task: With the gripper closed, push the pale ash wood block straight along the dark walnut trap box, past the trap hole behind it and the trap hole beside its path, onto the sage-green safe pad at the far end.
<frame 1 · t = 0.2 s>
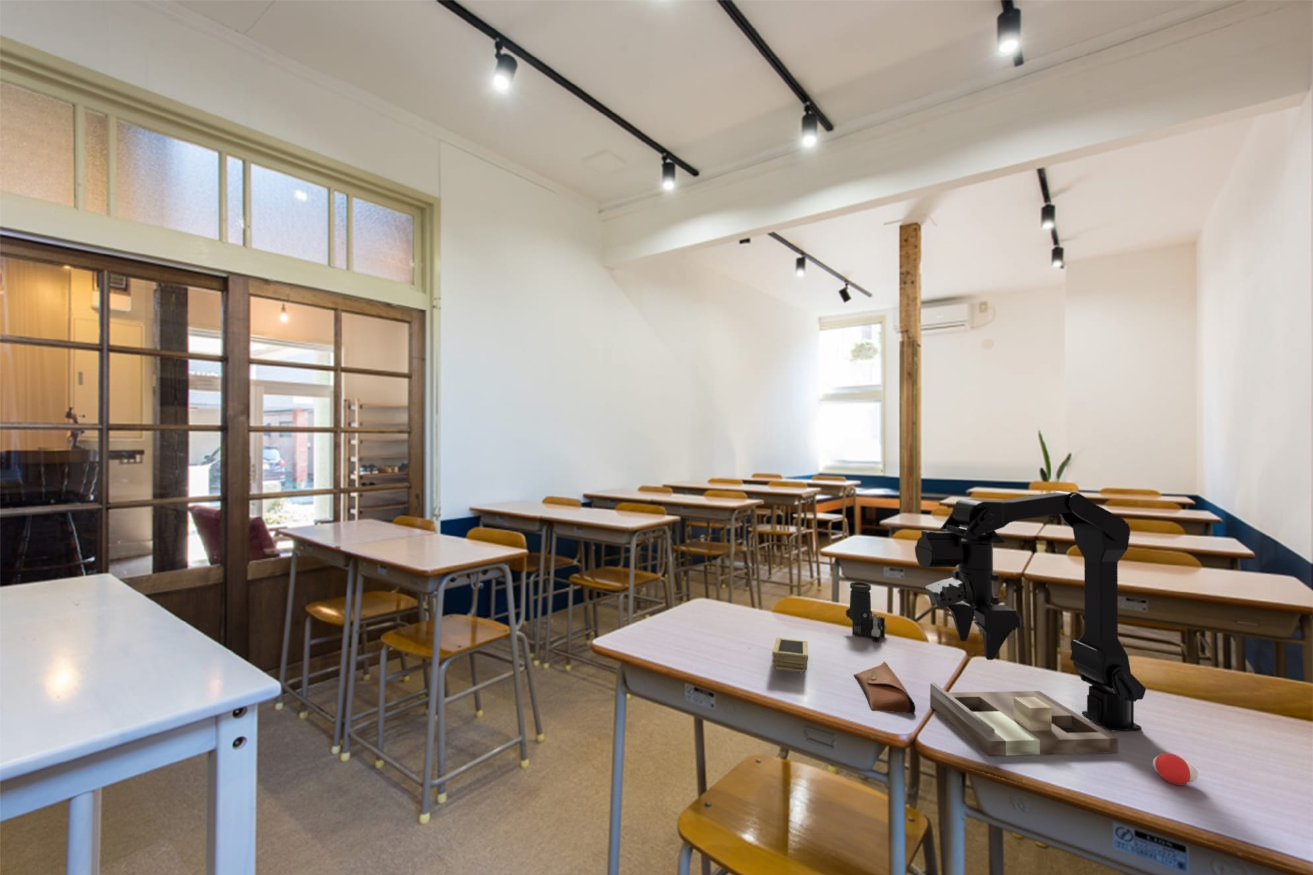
hand: (975, 649, 103), 14 cm above the table, tool pointing down, fingers open, 9 cm apart
trap box: (1016, 727, 103), on the table
box: (790, 664, 132), on the table
scope: (863, 636, 152), on the table
block: (1032, 724, 99), point 2 cm above the table, touching trap box
sunglasses case: (881, 695, 117), on the table
molecule: (1175, 782, 87), on the table
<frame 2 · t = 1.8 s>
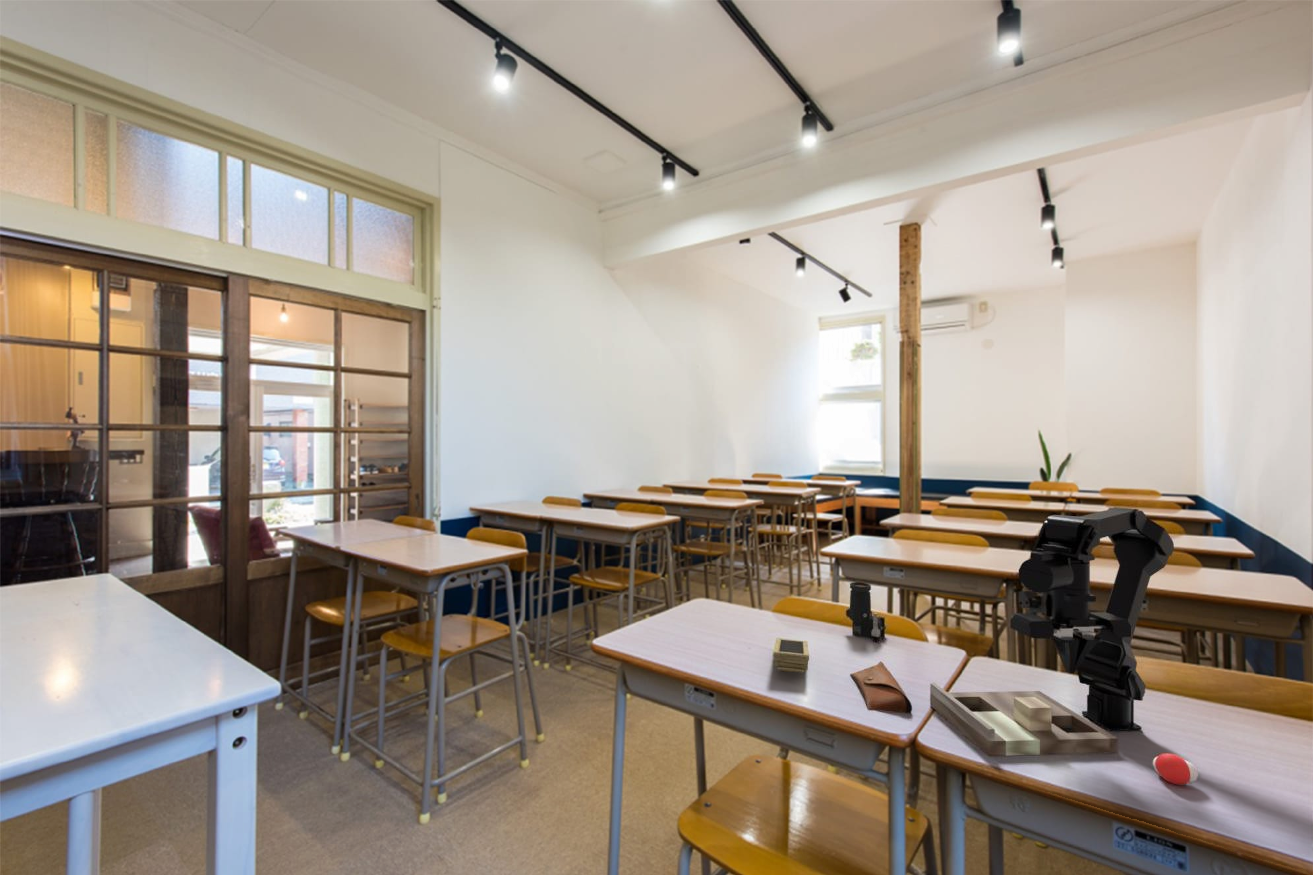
hand: (1069, 672, 100), 12 cm above the table, tool pointing down, fingers closed
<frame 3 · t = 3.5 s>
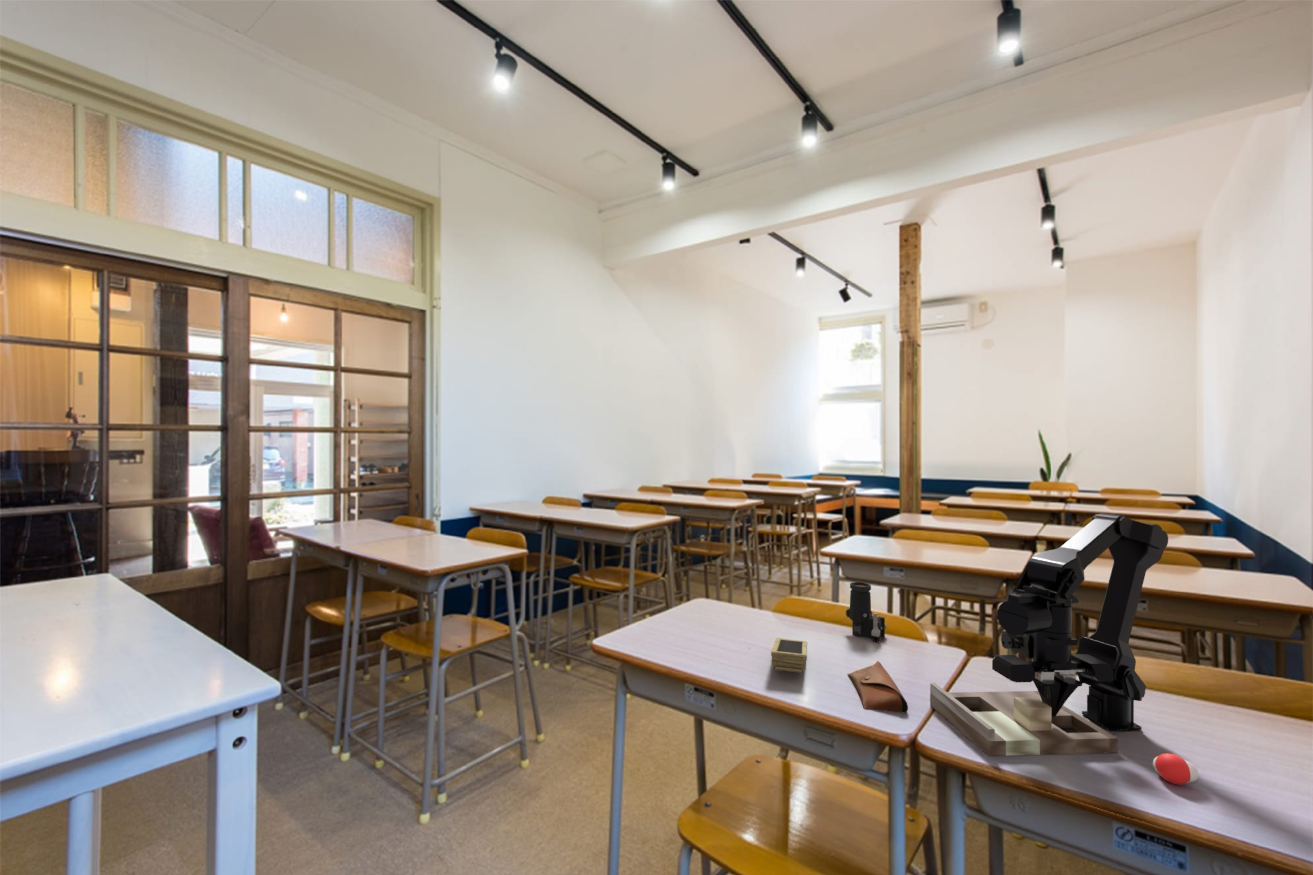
hand: (1051, 715, 99), 4 cm above the table, tool pointing down, fingers closed
block: (1032, 724, 99), point 3 cm above the table, touching gripper, trap box
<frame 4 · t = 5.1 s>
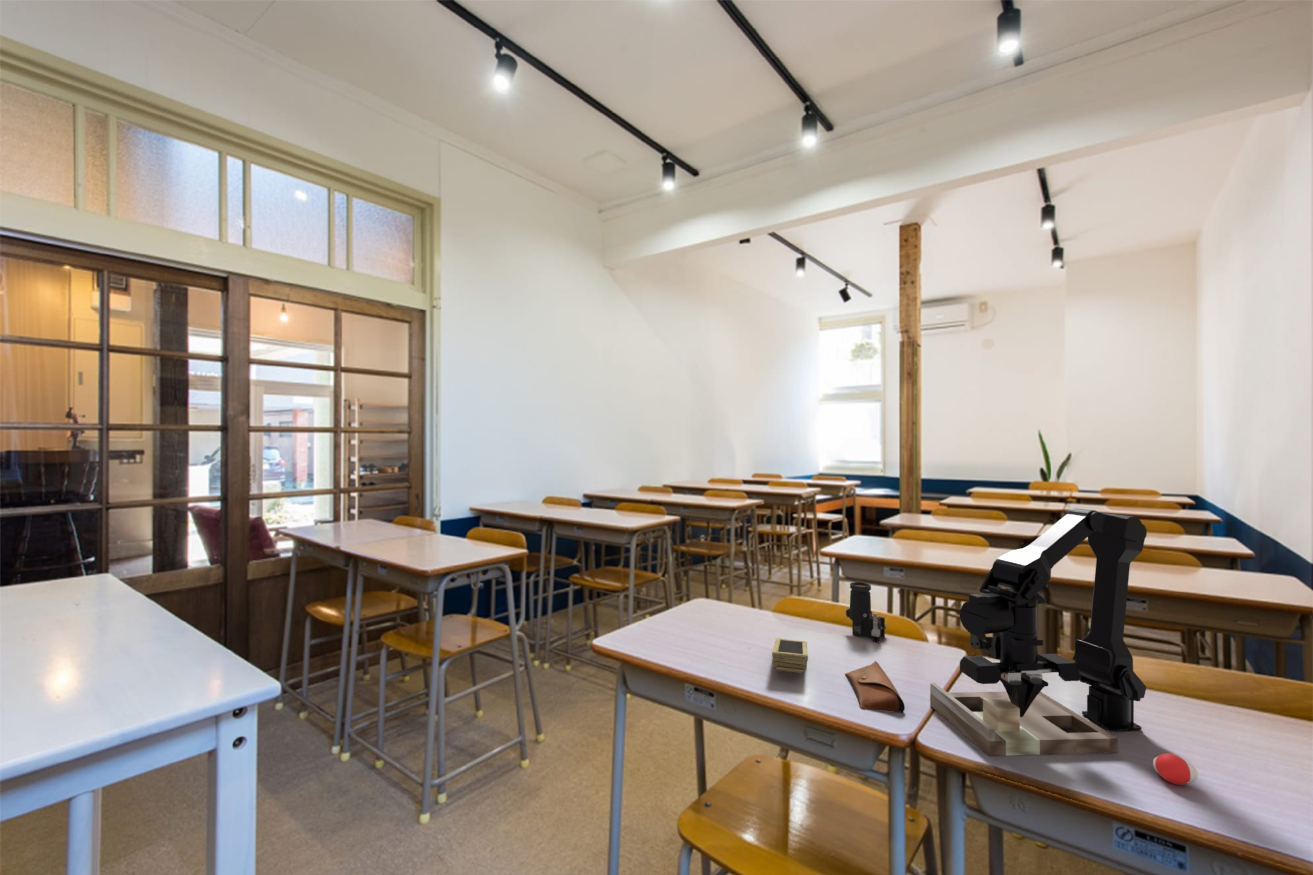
hand: (1019, 715, 99), 4 cm above the table, tool pointing down, fingers closed
block: (1001, 725, 99), point 2 cm above the table, touching gripper, trap box
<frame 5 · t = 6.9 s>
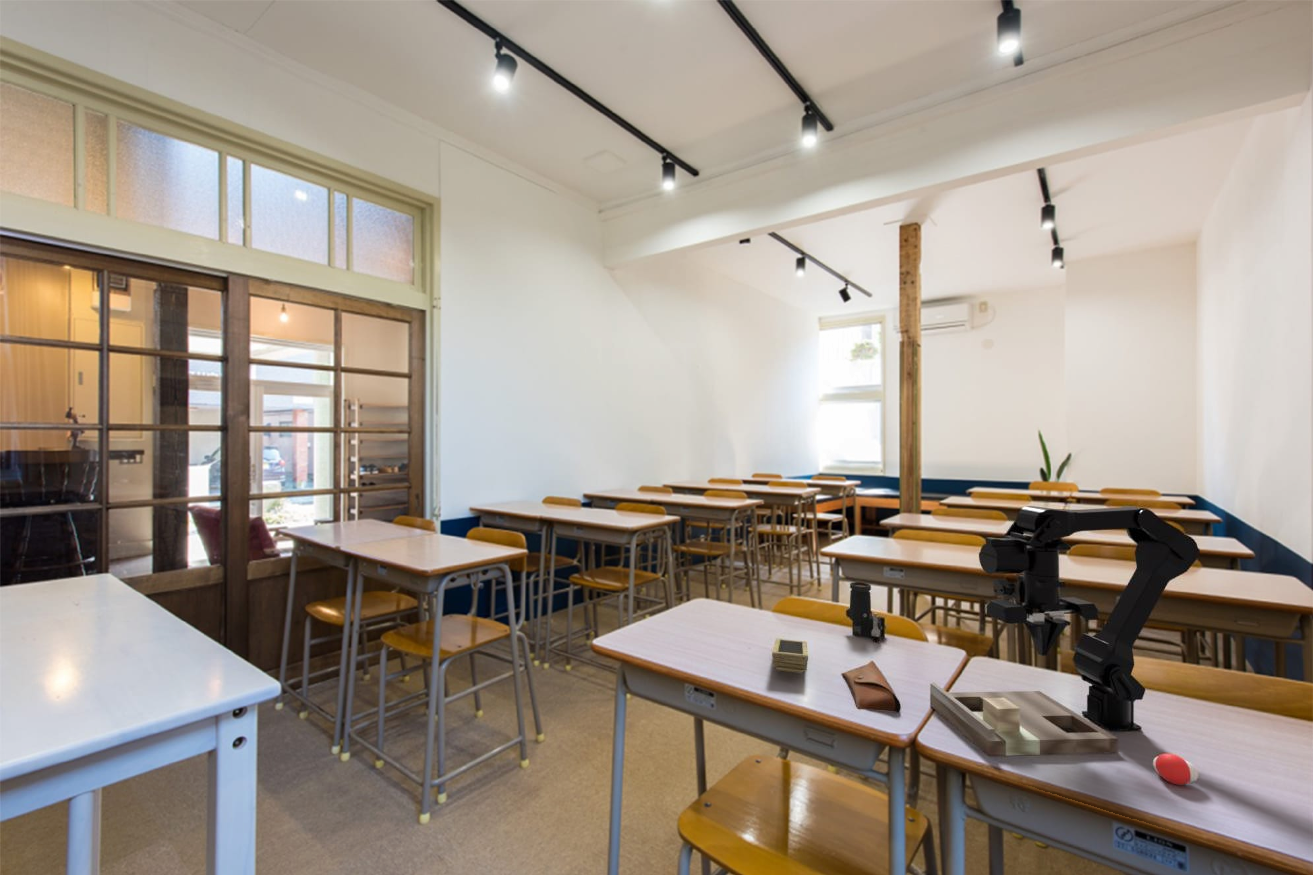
hand: (1042, 654, 105), 13 cm above the table, tool pointing down, fingers closed
block: (1001, 725, 99), point 2 cm above the table, touching trap box
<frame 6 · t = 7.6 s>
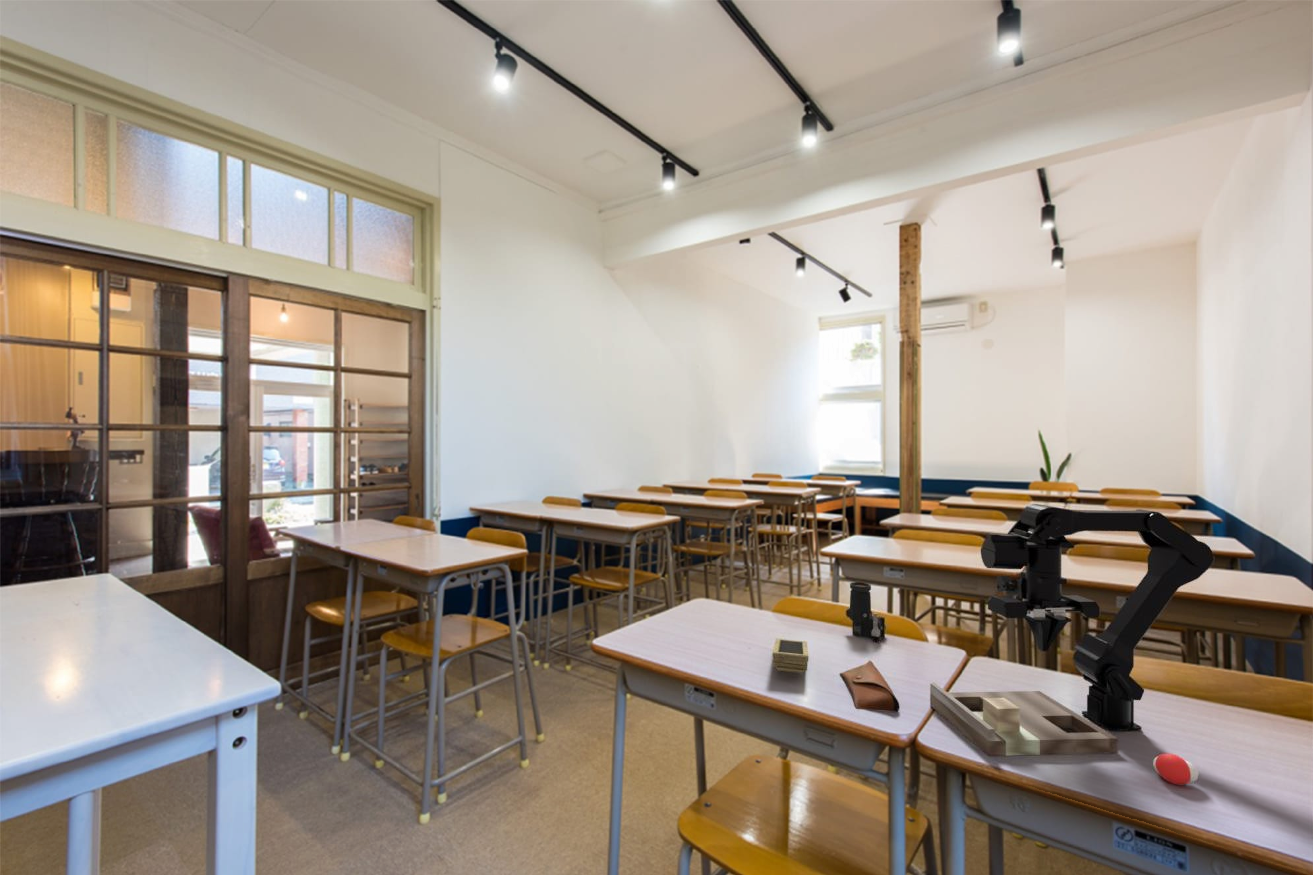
hand: (1042, 650, 107), 13 cm above the table, tool pointing down, fingers closed
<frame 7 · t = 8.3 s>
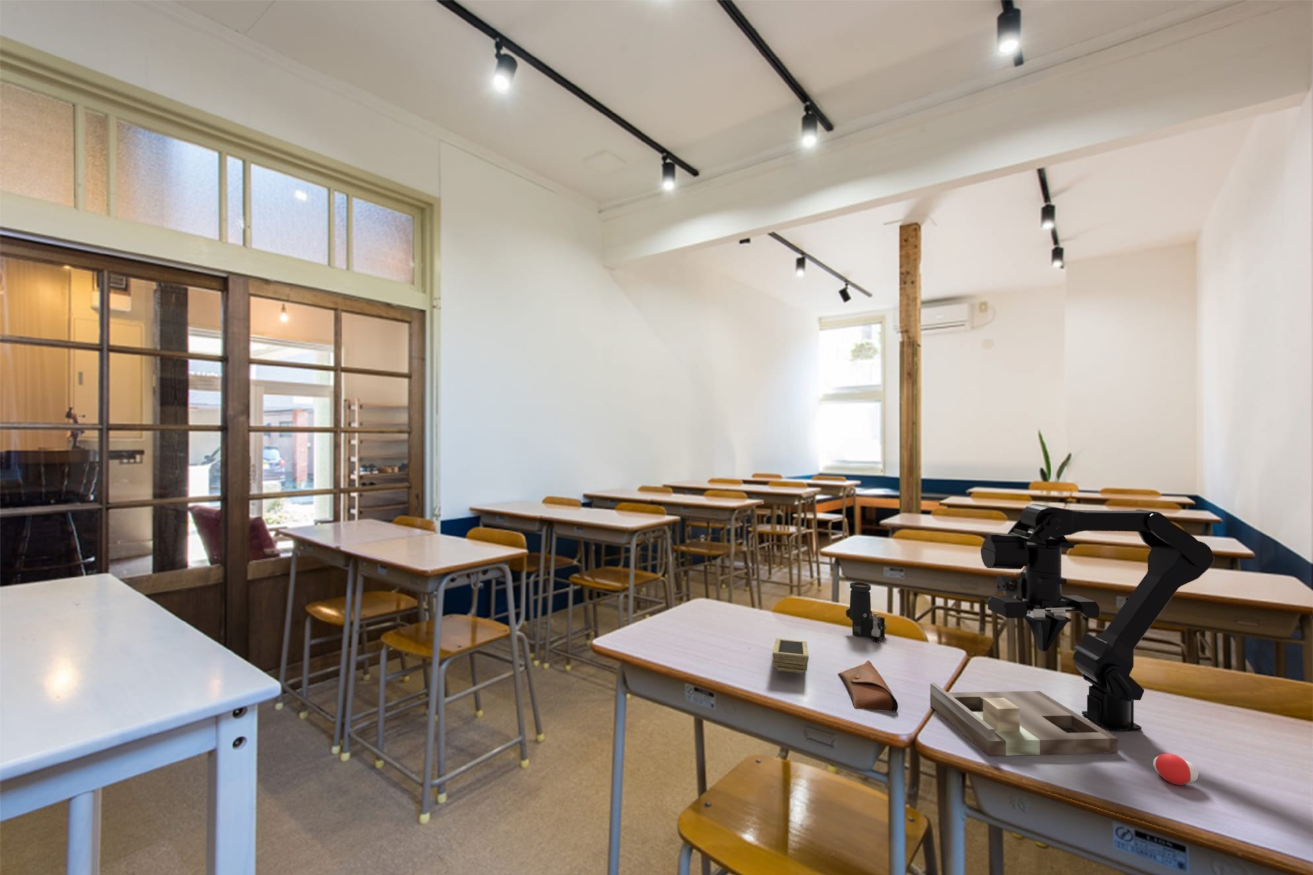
hand: (1042, 650, 107), 13 cm above the table, tool pointing down, fingers closed
at the end: block inside the target area (0.2 cm from its centre), point 2.5 cm above the table; block tilted 0°; block moved 5.9 cm from its start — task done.
